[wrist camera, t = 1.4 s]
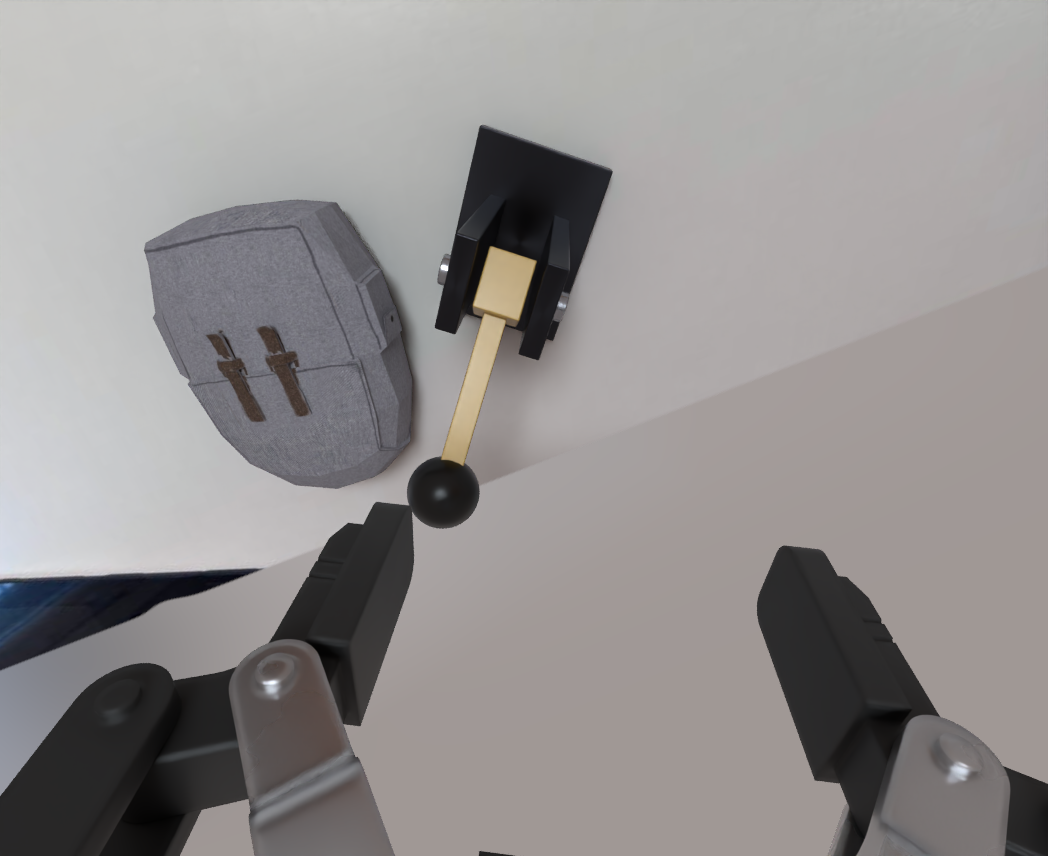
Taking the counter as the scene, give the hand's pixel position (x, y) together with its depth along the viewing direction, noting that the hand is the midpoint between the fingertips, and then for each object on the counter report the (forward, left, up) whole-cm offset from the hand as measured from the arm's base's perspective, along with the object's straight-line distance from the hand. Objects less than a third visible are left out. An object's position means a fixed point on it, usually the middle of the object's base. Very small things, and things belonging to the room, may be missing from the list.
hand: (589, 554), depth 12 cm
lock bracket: (+3, +2, -27) cm, 27 cm away
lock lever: (0, +6, -15) cm, 16 cm away
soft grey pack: (+7, +18, -27) cm, 33 cm away
